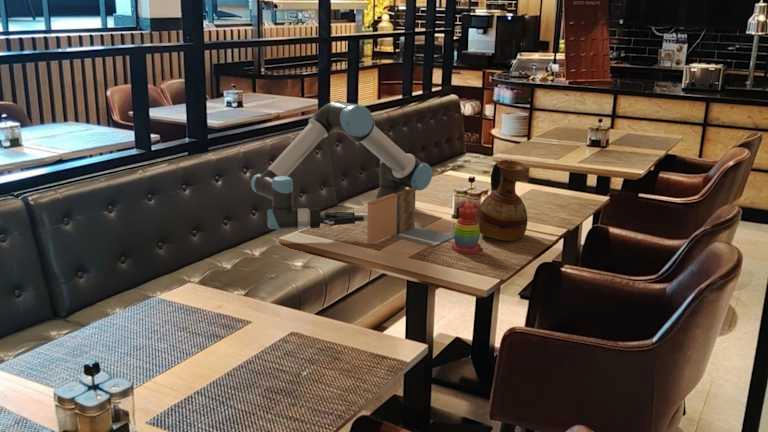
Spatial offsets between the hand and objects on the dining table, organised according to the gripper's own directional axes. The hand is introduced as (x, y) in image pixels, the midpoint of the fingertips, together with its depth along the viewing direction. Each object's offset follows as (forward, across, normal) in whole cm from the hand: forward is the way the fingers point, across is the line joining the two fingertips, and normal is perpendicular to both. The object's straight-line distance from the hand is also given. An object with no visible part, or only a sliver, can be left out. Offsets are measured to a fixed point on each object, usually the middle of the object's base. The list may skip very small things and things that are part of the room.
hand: (371, 217), depth 279 cm
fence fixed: (+14, -7, -8) cm, 17 cm away
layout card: (+19, -1, -8) cm, 21 cm away
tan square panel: (+4, +3, -7) cm, 9 cm away
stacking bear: (+33, +16, -8) cm, 38 cm away
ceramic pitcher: (+50, +2, -8) cm, 51 cm away
